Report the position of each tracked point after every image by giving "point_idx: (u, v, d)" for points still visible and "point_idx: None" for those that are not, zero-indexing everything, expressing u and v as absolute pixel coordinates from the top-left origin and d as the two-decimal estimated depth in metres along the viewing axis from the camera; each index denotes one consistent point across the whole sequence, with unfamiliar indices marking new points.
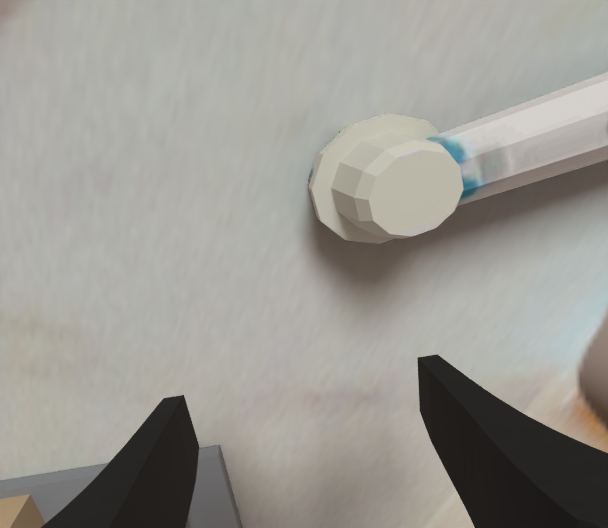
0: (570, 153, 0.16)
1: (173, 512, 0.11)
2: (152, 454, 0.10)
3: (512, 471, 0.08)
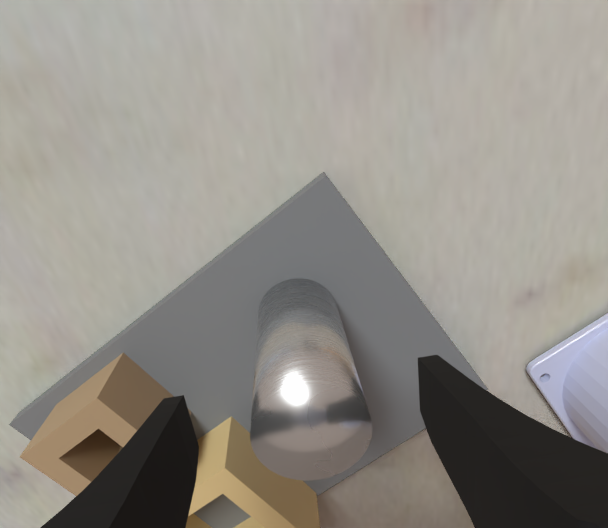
0: None
1: (173, 512, 0.11)
2: (152, 454, 0.10)
3: (512, 471, 0.08)
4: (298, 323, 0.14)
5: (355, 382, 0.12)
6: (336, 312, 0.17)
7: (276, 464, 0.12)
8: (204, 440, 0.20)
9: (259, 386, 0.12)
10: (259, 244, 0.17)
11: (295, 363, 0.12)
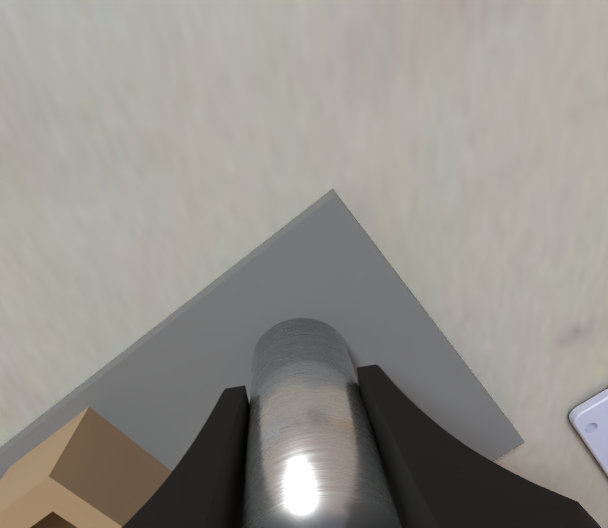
0: None
1: None
2: (229, 441, 0.10)
3: (414, 487, 0.08)
4: (303, 389, 0.11)
5: (381, 482, 0.09)
6: (349, 364, 0.13)
7: None
8: None
9: (252, 487, 0.09)
10: (253, 278, 0.14)
11: (302, 459, 0.09)
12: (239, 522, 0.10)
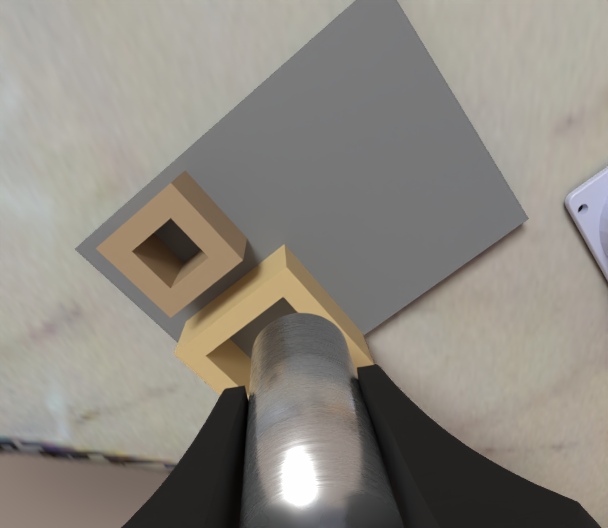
0: None
1: None
2: (229, 441, 0.10)
3: (414, 487, 0.08)
4: (306, 381, 0.11)
5: (383, 476, 0.09)
6: (350, 360, 0.13)
7: None
8: (258, 266, 0.21)
9: (253, 475, 0.09)
10: (317, 52, 0.18)
11: (305, 448, 0.09)
12: (239, 522, 0.10)
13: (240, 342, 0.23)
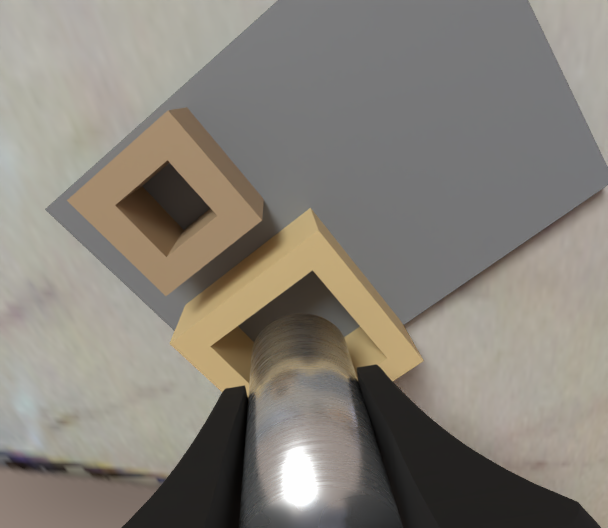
0: None
1: None
2: (229, 441, 0.10)
3: (414, 487, 0.08)
4: (306, 382, 0.11)
5: (383, 477, 0.09)
6: (350, 361, 0.13)
7: None
8: (277, 235, 0.17)
9: (253, 475, 0.09)
10: None
11: (305, 449, 0.09)
12: None
13: (252, 331, 0.19)
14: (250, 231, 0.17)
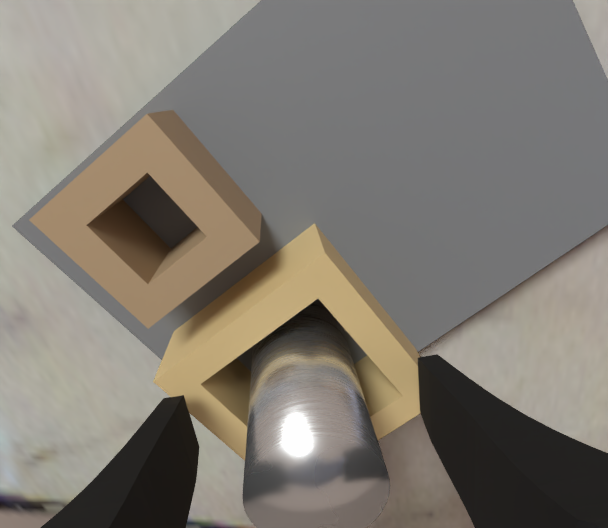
0: None
1: (173, 512, 0.11)
2: (152, 454, 0.10)
3: (513, 471, 0.08)
4: (304, 353, 0.12)
5: (371, 432, 0.10)
6: (344, 338, 0.15)
7: (271, 526, 0.10)
8: (277, 255, 0.15)
9: (256, 431, 0.10)
10: None
11: (302, 407, 0.10)
12: None
13: (248, 360, 0.17)
14: None
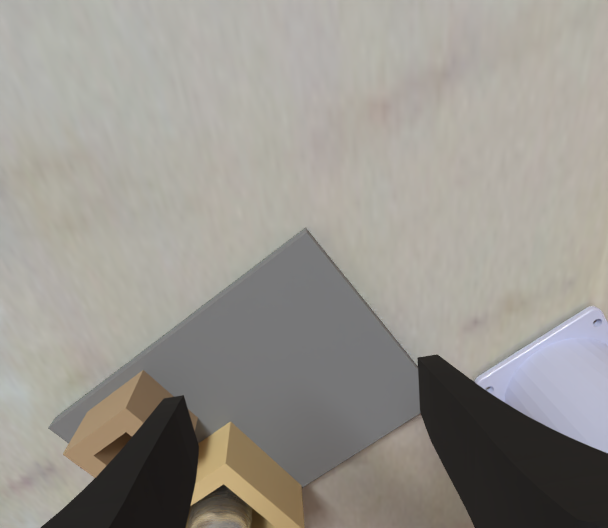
0: None
1: (173, 512, 0.11)
2: (152, 454, 0.10)
3: (512, 471, 0.08)
4: (214, 517, 0.22)
5: None
6: None
7: None
8: (207, 441, 0.24)
9: None
10: (254, 285, 0.21)
11: None
12: None
13: None
14: None
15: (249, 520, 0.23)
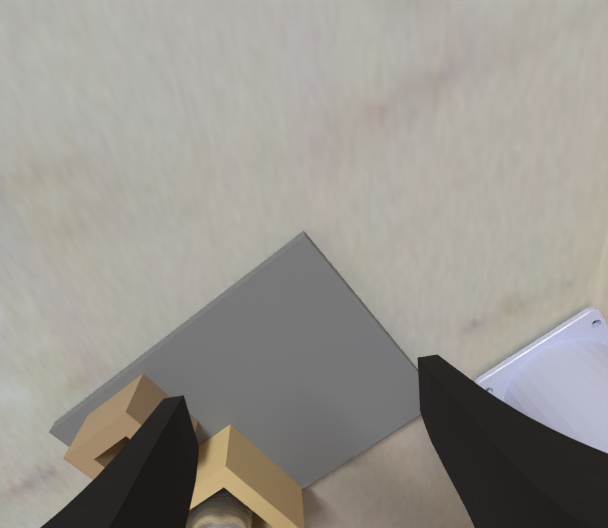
0: None
1: (173, 512, 0.11)
2: (152, 454, 0.10)
3: (512, 471, 0.08)
4: (214, 520, 0.22)
5: None
6: None
7: None
8: (208, 443, 0.24)
9: None
10: (252, 288, 0.22)
11: None
12: None
13: None
14: None
15: (249, 522, 0.23)
